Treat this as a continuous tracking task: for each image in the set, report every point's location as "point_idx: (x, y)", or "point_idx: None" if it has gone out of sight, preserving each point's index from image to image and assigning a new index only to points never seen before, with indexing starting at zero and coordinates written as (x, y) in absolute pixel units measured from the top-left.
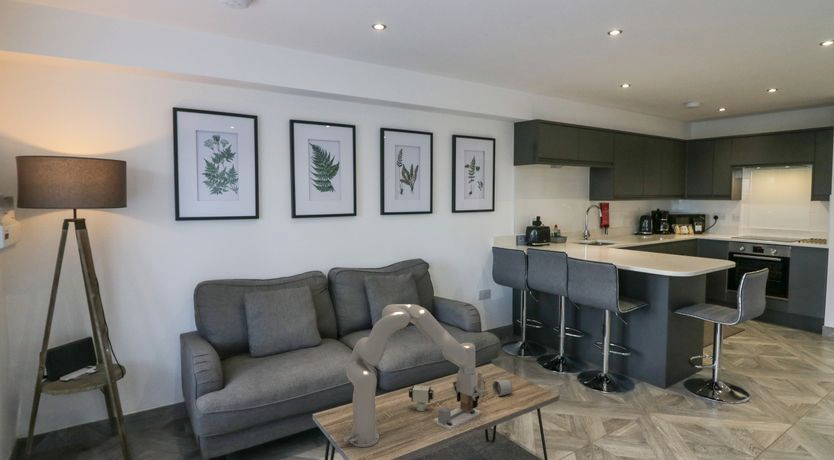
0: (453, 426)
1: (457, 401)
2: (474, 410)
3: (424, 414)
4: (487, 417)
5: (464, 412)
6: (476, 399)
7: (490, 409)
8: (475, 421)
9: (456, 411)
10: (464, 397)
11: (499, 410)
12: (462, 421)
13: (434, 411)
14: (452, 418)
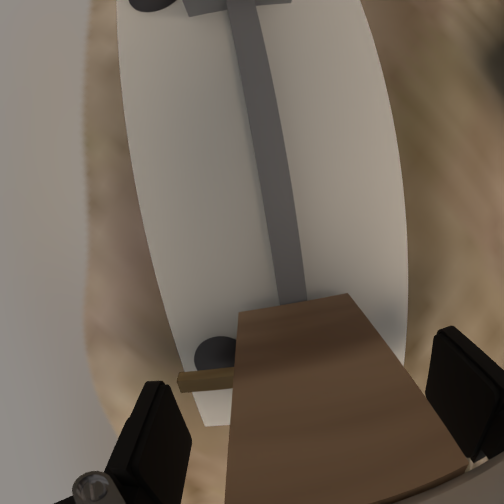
0: (119, 17)
1: (443, 328)
2: (179, 382)
3: (469, 9)
4: (128, 405)
5: (278, 296)
6: (78, 495)
7: (225, 478)
8: (107, 287)
9: (357, 232)
10: (314, 445)
11: (184, 493)
12: (132, 145)
13: (484, 95)
14: (238, 70)
